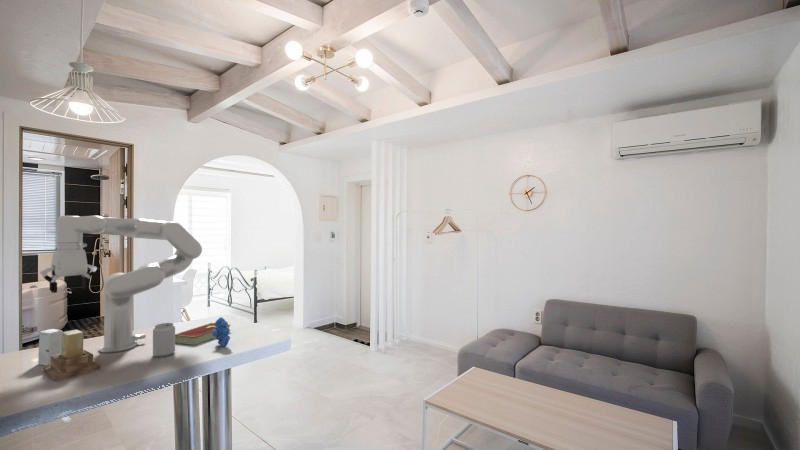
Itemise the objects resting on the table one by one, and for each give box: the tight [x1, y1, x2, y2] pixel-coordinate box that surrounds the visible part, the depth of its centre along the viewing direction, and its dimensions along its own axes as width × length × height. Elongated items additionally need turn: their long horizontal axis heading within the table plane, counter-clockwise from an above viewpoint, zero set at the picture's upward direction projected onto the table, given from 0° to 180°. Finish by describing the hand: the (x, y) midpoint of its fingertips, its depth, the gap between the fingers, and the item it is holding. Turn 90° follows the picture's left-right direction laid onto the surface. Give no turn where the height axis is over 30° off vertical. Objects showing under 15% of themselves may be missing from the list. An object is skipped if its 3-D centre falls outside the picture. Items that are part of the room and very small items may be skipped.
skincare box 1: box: [37, 328, 64, 367], centre depth 136 cm, size 6×4×12 cm
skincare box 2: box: [61, 329, 84, 360], centre depth 129 cm, size 6×4×12 cm
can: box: [152, 322, 176, 358], centre depth 146 cm, size 8×8×12 cm
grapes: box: [212, 316, 231, 347], centre depth 156 cm, size 12×7×12 cm, turn 49°
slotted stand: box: [42, 348, 102, 382], centre depth 129 cm, size 12×14×6 cm
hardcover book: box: [175, 322, 231, 346], centre depth 169 cm, size 12×21×4 cm, turn 163°
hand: (69, 290), depth 143 cm, fingers open, 9 cm apart
